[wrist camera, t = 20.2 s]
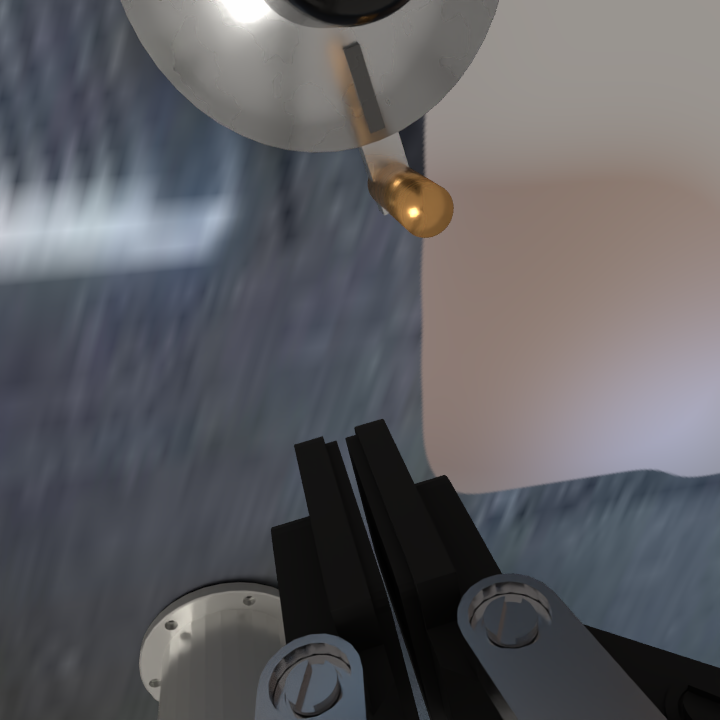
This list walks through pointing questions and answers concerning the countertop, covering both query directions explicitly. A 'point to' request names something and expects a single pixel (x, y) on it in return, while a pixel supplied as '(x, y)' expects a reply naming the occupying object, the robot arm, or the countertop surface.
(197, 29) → the turntable
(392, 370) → the countertop surface
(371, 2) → the supplement bottle
